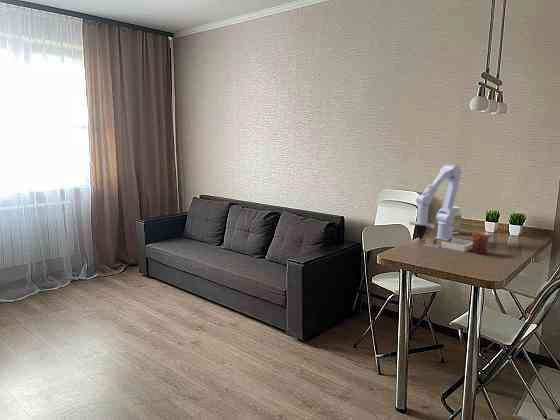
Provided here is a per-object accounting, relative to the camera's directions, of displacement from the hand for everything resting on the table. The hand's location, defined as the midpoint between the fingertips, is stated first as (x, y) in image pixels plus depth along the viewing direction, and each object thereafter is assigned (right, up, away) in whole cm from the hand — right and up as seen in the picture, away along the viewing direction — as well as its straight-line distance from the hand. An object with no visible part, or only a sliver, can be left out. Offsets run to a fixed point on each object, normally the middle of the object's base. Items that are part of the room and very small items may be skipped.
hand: (420, 238), depth 250 cm
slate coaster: (+2, -4, -12) cm, 13 cm away
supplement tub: (+27, +2, +26) cm, 38 cm away
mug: (+21, -6, -27) cm, 35 cm away
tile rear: (+5, -2, -4) cm, 6 cm away
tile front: (+9, -3, -8) cm, 13 cm away
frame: (+16, -4, -14) cm, 21 cm away
